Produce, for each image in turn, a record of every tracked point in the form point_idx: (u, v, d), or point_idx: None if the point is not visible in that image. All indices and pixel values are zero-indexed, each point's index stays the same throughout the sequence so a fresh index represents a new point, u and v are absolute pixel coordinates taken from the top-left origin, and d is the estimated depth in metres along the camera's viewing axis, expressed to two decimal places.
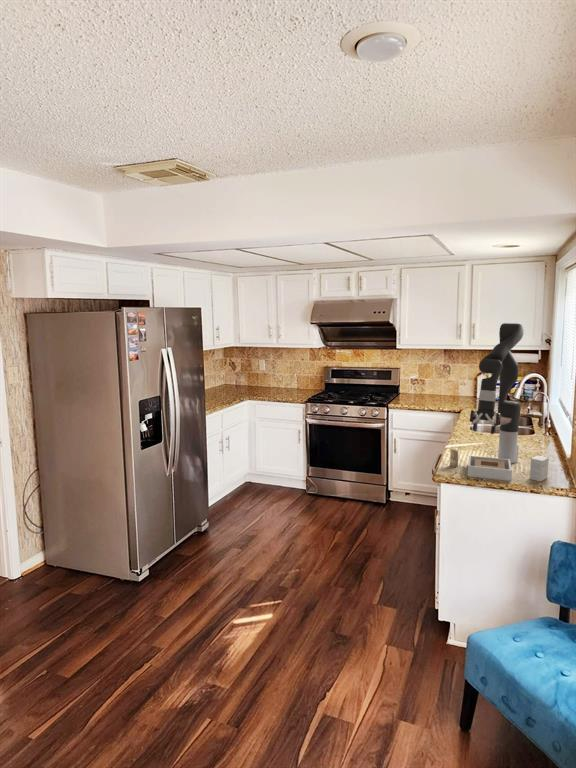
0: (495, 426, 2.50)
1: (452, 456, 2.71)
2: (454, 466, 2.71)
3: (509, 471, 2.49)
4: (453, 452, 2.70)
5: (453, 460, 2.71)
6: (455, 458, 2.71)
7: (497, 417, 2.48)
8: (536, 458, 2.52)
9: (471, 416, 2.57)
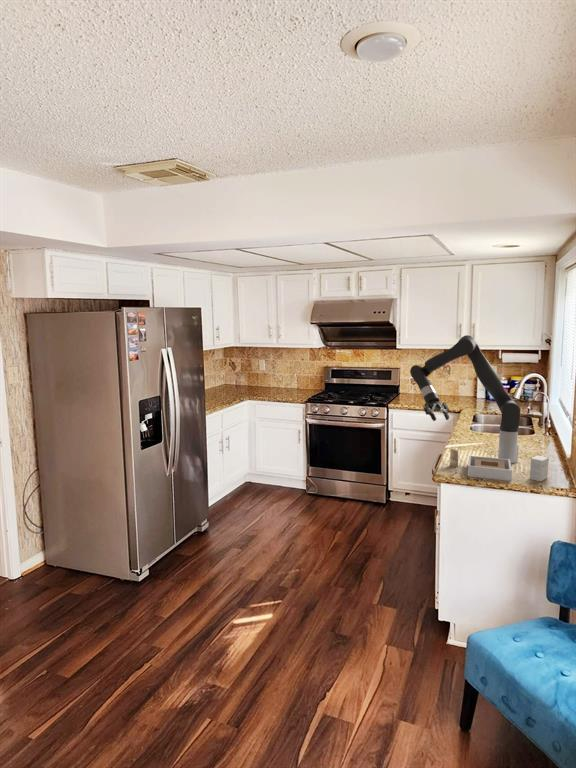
0: (430, 414, 2.81)
1: (452, 456, 2.71)
2: (454, 466, 2.71)
3: (509, 471, 2.49)
4: (453, 452, 2.70)
5: (453, 460, 2.71)
6: (455, 458, 2.71)
7: None
8: (536, 458, 2.52)
9: None
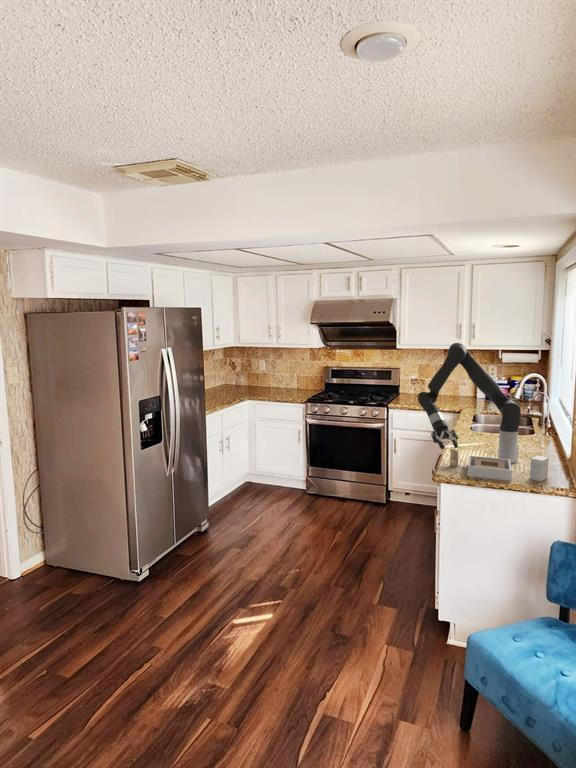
0: (438, 442, 2.76)
1: (452, 456, 2.71)
2: (454, 466, 2.71)
3: (509, 471, 2.49)
4: (453, 452, 2.70)
5: (453, 460, 2.71)
6: (455, 458, 2.71)
7: None
8: (536, 458, 2.52)
9: None
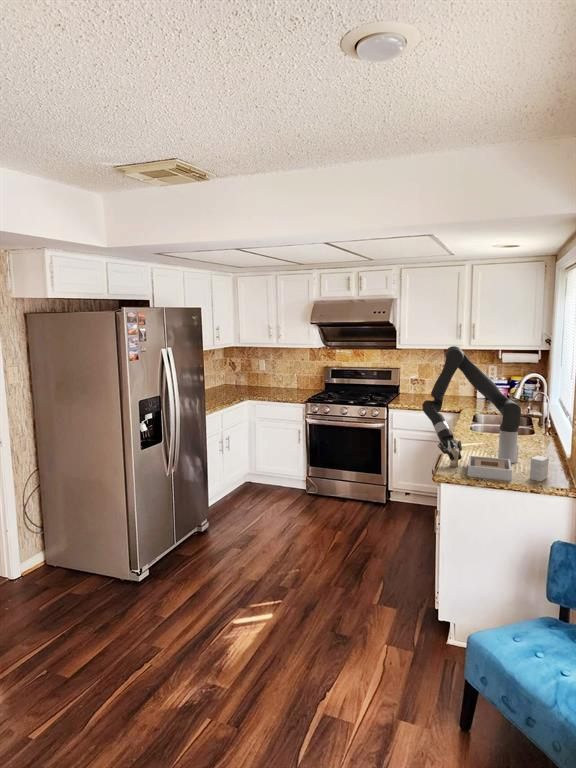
0: (448, 453, 2.72)
1: None
2: (454, 466, 2.71)
3: (509, 471, 2.49)
4: (453, 452, 2.70)
5: (453, 460, 2.71)
6: (455, 458, 2.71)
7: None
8: (536, 458, 2.52)
9: None
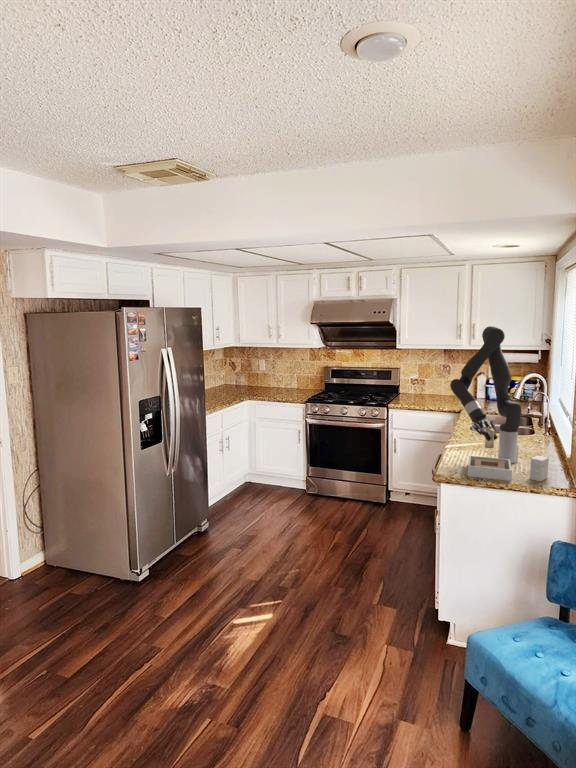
0: (483, 433, 2.59)
1: None
2: (490, 446, 2.59)
3: (509, 471, 2.49)
4: (489, 432, 2.58)
5: None
6: (491, 438, 2.59)
7: None
8: (536, 458, 2.52)
9: None
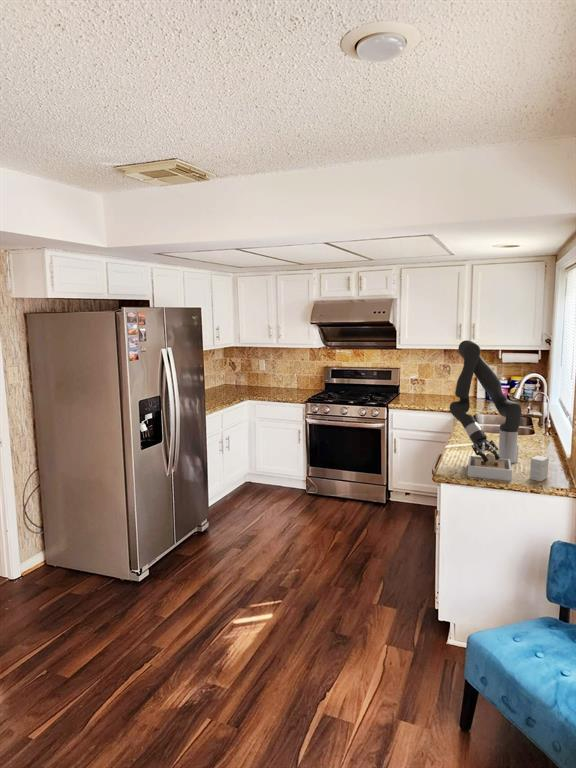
0: (481, 455, 2.60)
1: (489, 461, 2.60)
2: None
3: (509, 471, 2.49)
4: (490, 457, 2.60)
5: (490, 465, 2.60)
6: (492, 463, 2.60)
7: None
8: (536, 458, 2.52)
9: None
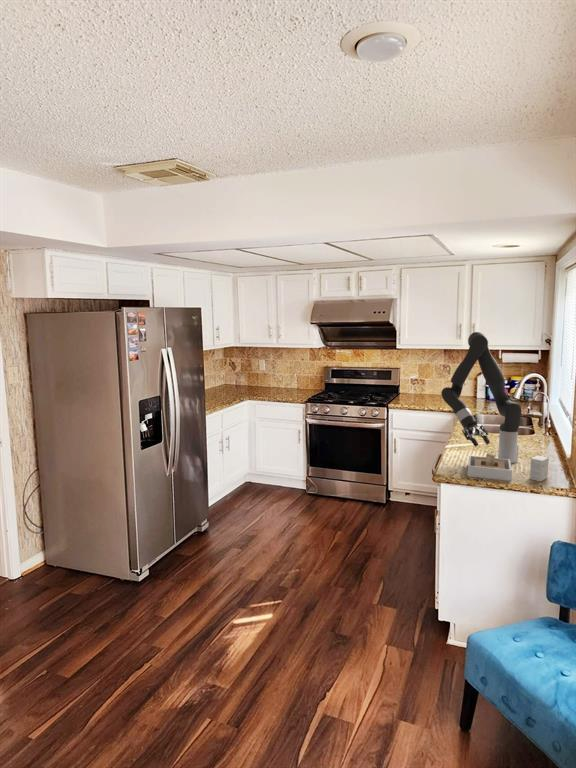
0: (471, 439, 2.65)
1: (489, 461, 2.60)
2: None
3: (509, 471, 2.49)
4: (490, 457, 2.60)
5: (490, 465, 2.60)
6: (492, 463, 2.60)
7: None
8: (536, 458, 2.52)
9: None
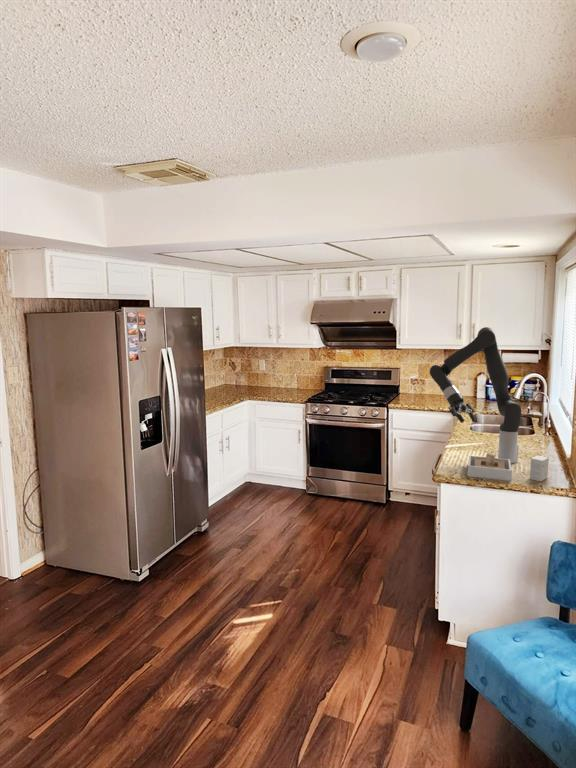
0: (457, 416, 2.69)
1: (489, 461, 2.60)
2: None
3: (509, 471, 2.49)
4: (490, 457, 2.60)
5: (490, 465, 2.60)
6: (492, 463, 2.60)
7: None
8: (536, 458, 2.52)
9: None
